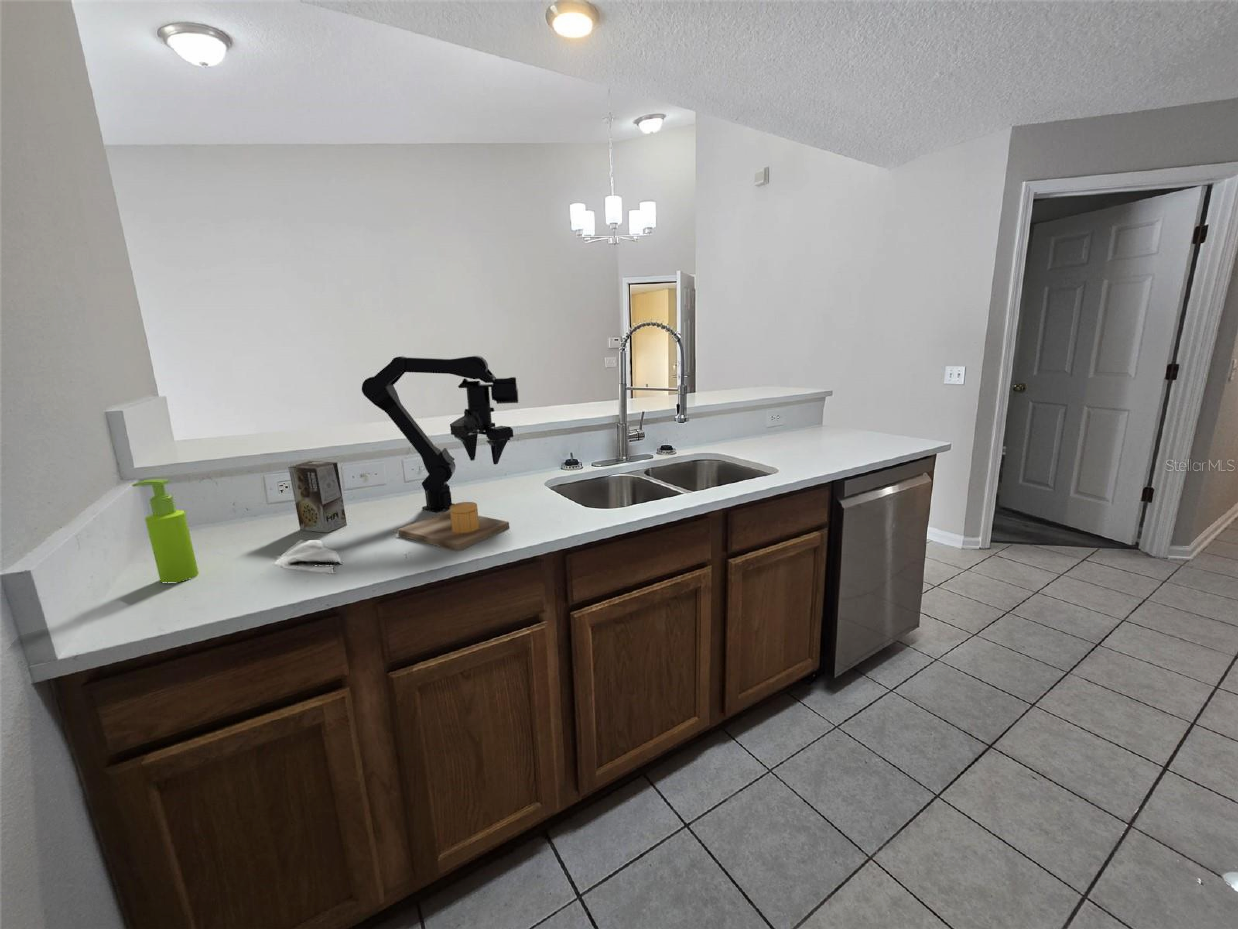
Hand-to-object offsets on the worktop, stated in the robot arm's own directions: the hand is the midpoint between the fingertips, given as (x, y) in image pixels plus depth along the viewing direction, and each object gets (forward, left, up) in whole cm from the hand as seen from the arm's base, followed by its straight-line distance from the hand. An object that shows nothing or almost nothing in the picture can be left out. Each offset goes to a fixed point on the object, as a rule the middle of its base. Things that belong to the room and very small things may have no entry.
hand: (483, 462), depth 144 cm
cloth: (-8, -44, -13) cm, 47 cm away
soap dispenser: (-22, -63, -12) cm, 68 cm away
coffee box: (-24, -32, -12) cm, 42 cm away
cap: (+12, -19, -10) cm, 25 cm away
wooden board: (+8, -19, -12) cm, 24 cm away
